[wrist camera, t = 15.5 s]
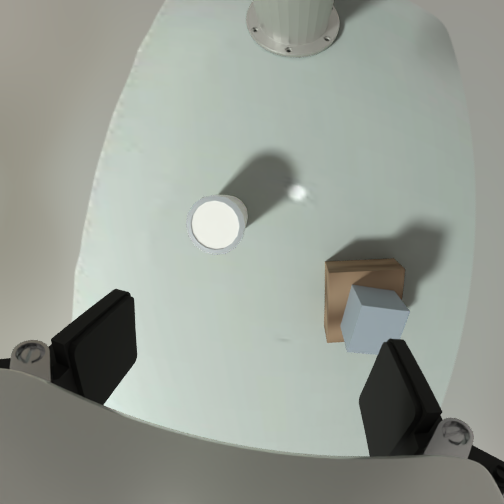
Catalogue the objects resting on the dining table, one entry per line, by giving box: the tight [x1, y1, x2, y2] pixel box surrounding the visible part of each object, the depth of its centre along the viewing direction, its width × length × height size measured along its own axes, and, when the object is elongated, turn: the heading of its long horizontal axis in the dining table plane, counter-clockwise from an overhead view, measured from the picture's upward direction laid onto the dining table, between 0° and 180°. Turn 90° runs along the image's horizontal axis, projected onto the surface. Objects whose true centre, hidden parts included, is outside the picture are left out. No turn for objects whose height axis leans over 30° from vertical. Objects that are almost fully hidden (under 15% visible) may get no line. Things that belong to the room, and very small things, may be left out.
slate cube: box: [340, 285, 410, 355], centre depth 33 cm, size 6×6×6 cm
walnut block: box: [324, 258, 405, 343], centre depth 39 cm, size 10×10×5 cm
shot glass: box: [186, 195, 248, 255], centre depth 37 cm, size 7×7×7 cm
